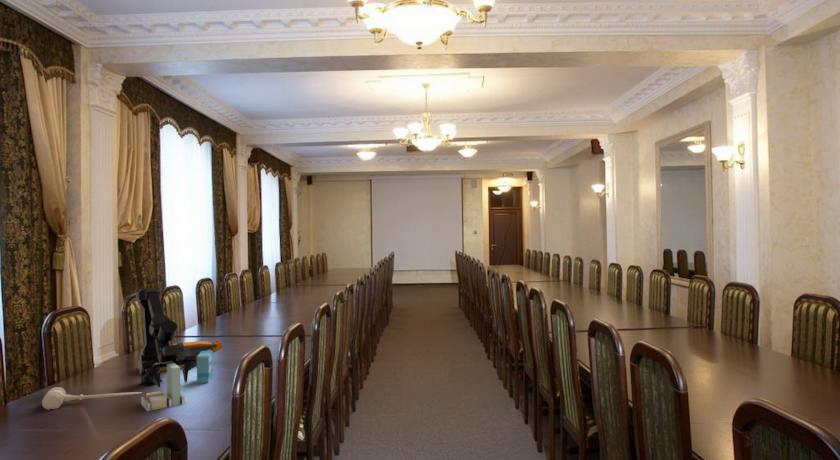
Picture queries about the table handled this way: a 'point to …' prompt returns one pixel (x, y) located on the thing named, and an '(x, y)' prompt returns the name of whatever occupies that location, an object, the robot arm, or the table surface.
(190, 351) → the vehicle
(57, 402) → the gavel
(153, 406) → the offcut lower
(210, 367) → the data package
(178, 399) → the pale green slab
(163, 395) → the offcut upper
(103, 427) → the table surface
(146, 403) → the rack
